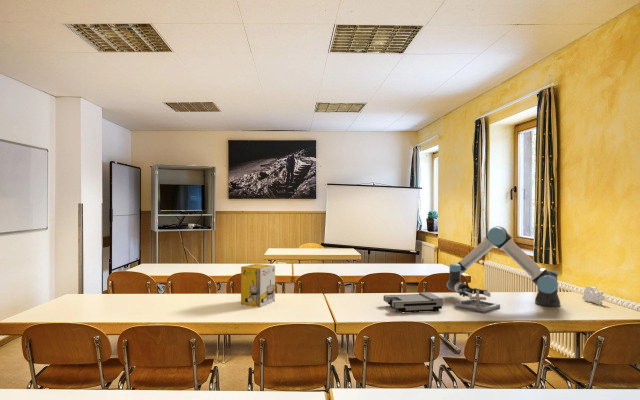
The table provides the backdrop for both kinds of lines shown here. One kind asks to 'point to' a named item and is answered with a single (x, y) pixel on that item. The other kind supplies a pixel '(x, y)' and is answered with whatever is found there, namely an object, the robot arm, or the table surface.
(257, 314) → the table surface
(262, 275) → the packaging box
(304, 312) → the table surface
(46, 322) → the table surface
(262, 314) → the table surface
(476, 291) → the pipe connector
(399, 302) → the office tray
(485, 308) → the carrier plate
